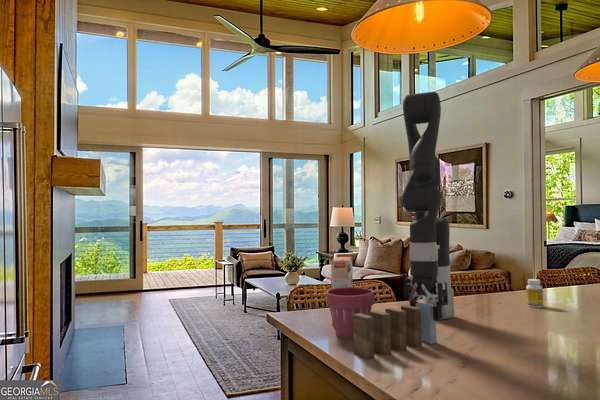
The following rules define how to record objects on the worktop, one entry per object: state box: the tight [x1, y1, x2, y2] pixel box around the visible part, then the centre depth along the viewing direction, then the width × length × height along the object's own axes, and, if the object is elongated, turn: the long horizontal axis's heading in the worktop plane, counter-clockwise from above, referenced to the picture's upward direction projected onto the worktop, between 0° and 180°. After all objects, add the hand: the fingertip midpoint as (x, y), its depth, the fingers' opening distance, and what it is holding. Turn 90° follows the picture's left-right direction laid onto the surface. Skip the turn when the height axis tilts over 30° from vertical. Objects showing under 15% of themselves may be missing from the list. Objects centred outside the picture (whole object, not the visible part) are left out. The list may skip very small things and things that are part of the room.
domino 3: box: [385, 307, 408, 352], centre depth 124 cm, size 2×5×10 cm, turn 31°
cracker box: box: [330, 256, 354, 327], centre depth 156 cm, size 14×6×21 cm, turn 168°
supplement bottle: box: [525, 278, 544, 308], centre depth 171 cm, size 5×5×10 cm
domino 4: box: [400, 304, 423, 348], centre depth 127 cm, size 2×5×10 cm, turn 31°
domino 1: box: [353, 313, 375, 360], centre depth 119 cm, size 2×5×10 cm, turn 31°
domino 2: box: [370, 310, 392, 356], centre depth 121 cm, size 2×5×10 cm, turn 32°
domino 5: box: [416, 302, 438, 345], centre depth 130 cm, size 2×5×10 cm, turn 31°
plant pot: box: [325, 286, 375, 339], centre depth 140 cm, size 14×14×13 cm
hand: (425, 317), depth 130 cm, fingers open, 8 cm apart
